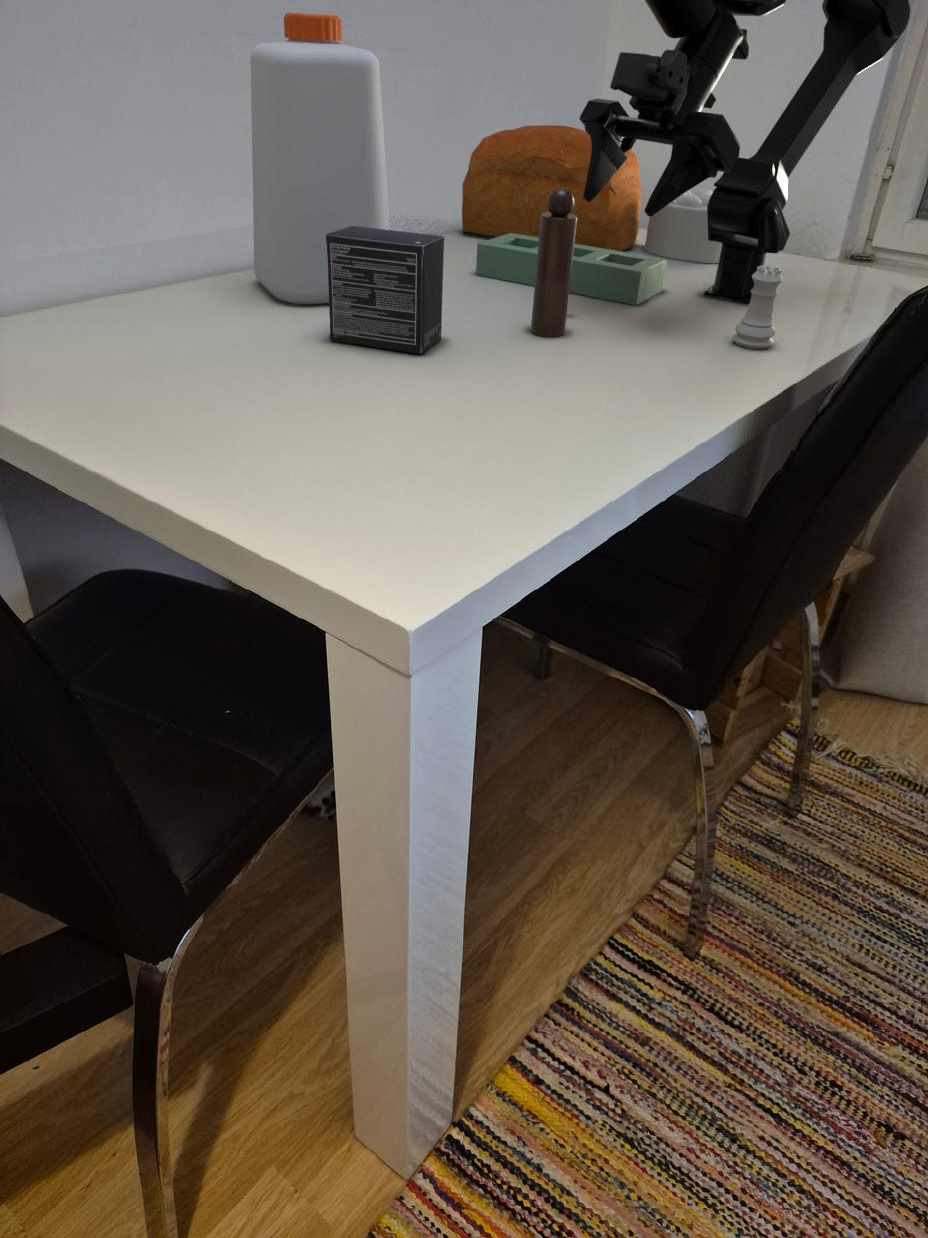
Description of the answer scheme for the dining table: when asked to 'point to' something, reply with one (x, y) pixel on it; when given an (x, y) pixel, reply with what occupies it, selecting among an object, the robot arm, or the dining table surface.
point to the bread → (547, 187)
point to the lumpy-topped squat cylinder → (683, 230)
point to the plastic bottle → (313, 153)
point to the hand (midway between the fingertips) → (615, 206)
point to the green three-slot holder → (576, 268)
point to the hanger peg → (554, 265)
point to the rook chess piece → (759, 311)
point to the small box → (385, 288)
